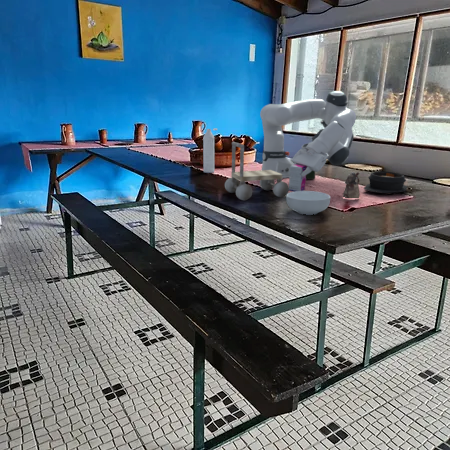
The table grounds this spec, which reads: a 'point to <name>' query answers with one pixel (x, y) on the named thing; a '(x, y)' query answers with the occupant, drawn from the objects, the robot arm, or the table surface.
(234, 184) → the trolley
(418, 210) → the table surface
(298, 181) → the supplement box
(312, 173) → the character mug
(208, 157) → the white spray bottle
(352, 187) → the figurine
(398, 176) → the casserole
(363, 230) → the table surface
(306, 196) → the cereal bowl
